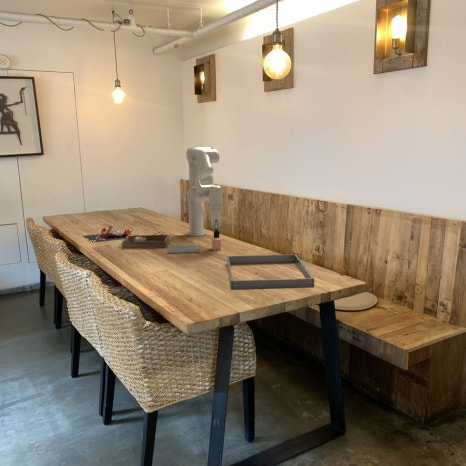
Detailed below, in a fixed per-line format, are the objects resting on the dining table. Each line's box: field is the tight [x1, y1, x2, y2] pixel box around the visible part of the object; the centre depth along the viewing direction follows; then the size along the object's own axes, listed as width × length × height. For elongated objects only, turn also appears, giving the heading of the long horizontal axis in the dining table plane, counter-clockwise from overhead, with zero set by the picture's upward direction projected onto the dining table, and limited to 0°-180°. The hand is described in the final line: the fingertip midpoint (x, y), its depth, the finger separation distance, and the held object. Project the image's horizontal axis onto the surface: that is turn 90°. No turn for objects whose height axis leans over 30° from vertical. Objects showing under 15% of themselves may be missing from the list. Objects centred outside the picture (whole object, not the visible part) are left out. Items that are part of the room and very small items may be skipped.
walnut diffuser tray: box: [121, 234, 170, 250], centre depth 286 cm, size 19×26×4 cm
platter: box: [82, 225, 138, 244], centre depth 312 cm, size 35×27×9 cm
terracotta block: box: [211, 237, 222, 251], centre depth 272 cm, size 5×5×6 cm
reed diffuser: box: [134, 231, 166, 242], centre depth 289 cm, size 10×7×20 cm
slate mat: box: [166, 244, 201, 255], centre depth 272 cm, size 18×18×1 cm
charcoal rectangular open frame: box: [226, 253, 315, 291], centre depth 220 cm, size 43×36×4 cm
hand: (216, 236), depth 271 cm, fingers open, 9 cm apart
